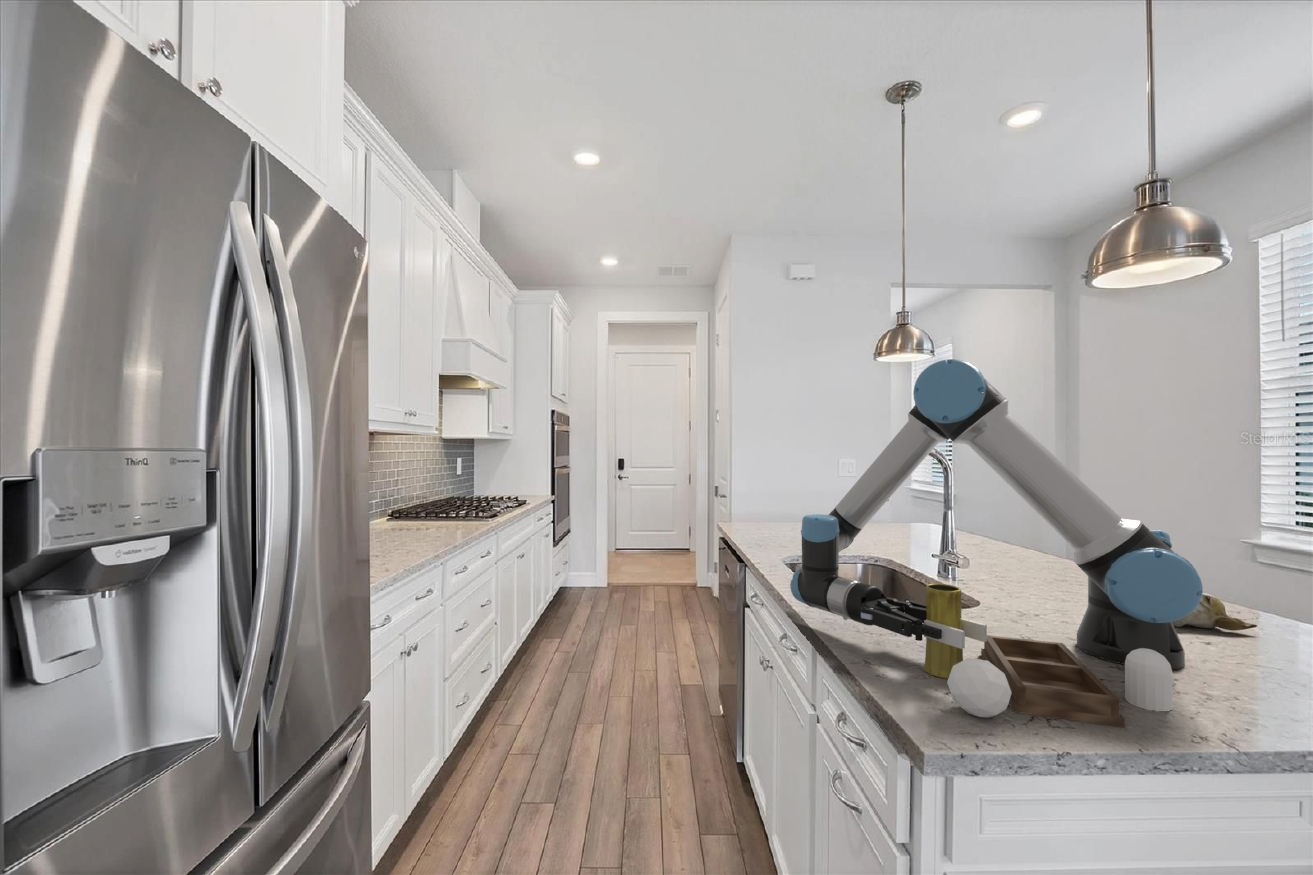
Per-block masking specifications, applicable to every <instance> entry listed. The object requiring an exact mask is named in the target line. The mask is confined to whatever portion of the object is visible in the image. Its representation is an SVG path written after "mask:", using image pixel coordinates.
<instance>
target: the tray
mask: <svg viewBox="0 0 1313 875" xmlns="http://www.w3.org/2000/svg"><path fill="white" fill-rule="evenodd" d="M983 644H984V645H983V646H984V647H983V648H981V649H980V655H981V658H982V660H987V661H989V662H990V663H992V664H993V665H994V666H995V667H997V668H998V669H999V670H1000V671H1002V672H1003V673H1004V674H1005V676H1006V679H1007V681H1008V684H1009V687H1010V690H1011V692H1012V693H1011V697H1010V700H1009V703H1008V705H1009V706H1010V707H1011V710H1012V712H1014V713H1021V714H1028V715H1034V716H1035V715H1036V716H1042V717H1049V718H1056V719H1057V718H1058V719H1063V720H1070V721H1076V722H1083V723H1084V722H1085V723H1091V724H1098V725H1106V726H1113V727H1117V728H1125V725H1126V724H1125V717H1124V716H1123V715H1122V714H1121V700H1120V698H1119V697H1118V696H1117V695H1116V694H1115V693H1114V692H1113V691H1112V690H1111V689H1110V688H1109V687H1108V686H1107V685H1106V684H1105V683H1104V682H1102V680H1101V679H1100V678H1098V676H1096V675H1095V673H1093V671H1091V669H1089V667H1088V666H1087V665H1085V664H1084V663H1083V661H1081V660H1080V659H1079V657H1077V656H1076V655H1075V653H1073V651H1071V650H1070V649H1069V648H1068V647H1067V646H1066V645H1065V644H1064V643H1063V642H1055V641H1046V640H1036V639H1035V640H1034V639H1027V638H1018V637H1008V636H997V635H988V634H987V642H983Z"/></svg>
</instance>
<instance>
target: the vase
mask: <svg viewBox="0 0 1313 875" xmlns="http://www.w3.org/2000/svg"><path fill="white" fill-rule="evenodd" d="M925 589H926V595H925V596H926V599H925V600H926V603H925V604H926V620H929V621H933V622H936V623H939V624H943V625H946V626H949V627H953V628H956V629H960V630H962V618H963V617H962V589H961V588H960V587H958V586H956V585H952V584H946V583H928V584H926V587H925ZM925 639H926V640H925V657H924V663H923V664H924V665H923V670H924V671H925V672H926V673H928V674H929V675H931V676H934V677H935V678H940V679H945V680H948V678H949V676H950V673H951V670H952V667H953V666H954V665H956V664H958V663H960V662H961V661H963V660H964V655H963V654H964V651H963V649H960V648H957V647H954V646H951V645H948V644H945V643H942V642H939V641H936V640H933V639H930V638H927V637H925Z"/></svg>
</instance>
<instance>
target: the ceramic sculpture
mask: <svg viewBox="0 0 1313 875" xmlns="http://www.w3.org/2000/svg"><path fill="white" fill-rule="evenodd" d="M1172 622H1173V625H1174V627H1175V628H1176V627H1177V628H1181V627H1183V626H1184V625H1189V626H1192V627H1195V628H1199V627H1200V629H1214V628H1219V629H1223V630H1225V631H1233V632H1235V631H1243V630H1249V629H1254V628H1257V627H1258V625H1257V624H1256V623H1255V624H1254V623H1249V622H1244V621H1243V620H1241V619H1239V618H1237V617H1232V616H1229V615H1228V614H1227V611H1226V606H1225V604H1224V603H1223V602H1222V601H1221V600H1220V599H1219V598H1218V597H1216V596H1214V595H1211V594H1209V593H1206V592H1202V597H1201V600H1200V603H1199V604H1198V606H1197V607H1196V608H1195V610H1194V611H1192V612H1191V613H1190V614H1189V615H1187V616H1185V617H1184V618H1181V619H1179V620H1176V621H1172Z"/></svg>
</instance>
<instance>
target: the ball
mask: <svg viewBox="0 0 1313 875" xmlns="http://www.w3.org/2000/svg"><path fill="white" fill-rule="evenodd" d="M946 683H947V685H948V686H947V687H948V688H949V691H950V694H951V698H952V700H953V701H954V702H955V703H956V705H958V706H959V707H960V708H961V709H963V710H964V711H965V712H966V713H967V714H969V715H972V716H976V717H978V718H989V719H990V718H991V717H994V716H997V715H999V714H1001V713H1002V712H1004V711H1006V710H1007V708H1008V705H1009V700H1010V697H1011V693H1012V692H1011V690H1010V687H1009V684H1008V681H1007V679H1006V676H1005V674H1004V673H1003V672H1002V671H1000V670H999V669H998V668H997V667H995V666H994V665H993V664H992V663H990V662H989V661H987V660H984V659H979V658H973V657H967V658H965V659H963V661H961V662H960V663H958V664H956V665H954V666H953V667H952V670H951V673H950V676H949V678H948V679H947V682H946Z"/></svg>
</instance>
